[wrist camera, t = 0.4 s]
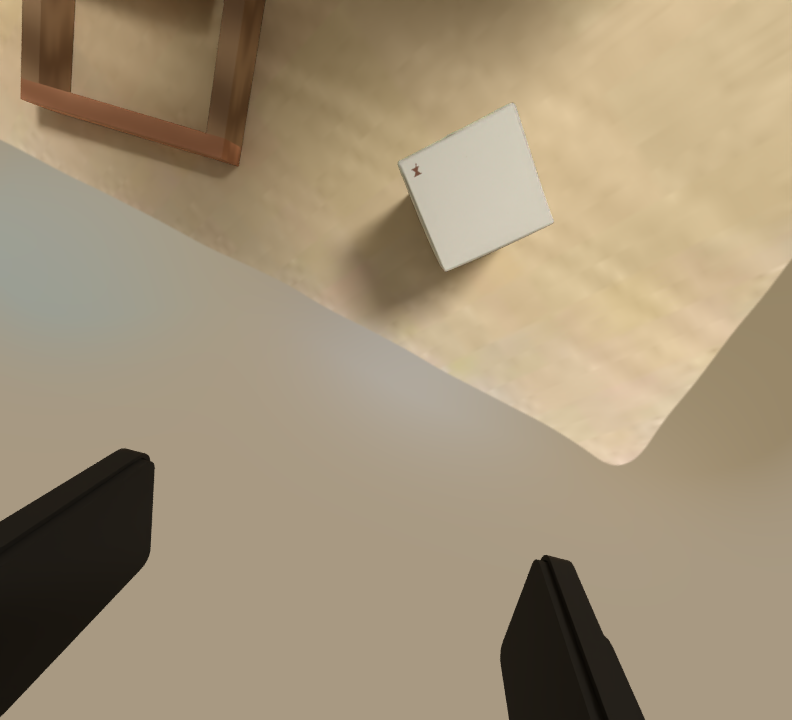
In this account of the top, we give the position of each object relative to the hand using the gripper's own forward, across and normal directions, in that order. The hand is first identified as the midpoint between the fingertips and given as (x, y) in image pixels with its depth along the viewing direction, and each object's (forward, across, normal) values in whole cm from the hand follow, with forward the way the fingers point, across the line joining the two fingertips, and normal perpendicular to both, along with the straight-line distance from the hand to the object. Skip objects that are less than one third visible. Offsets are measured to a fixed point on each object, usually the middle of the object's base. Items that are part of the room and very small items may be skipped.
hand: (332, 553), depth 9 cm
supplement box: (+31, -2, -11) cm, 33 cm away
